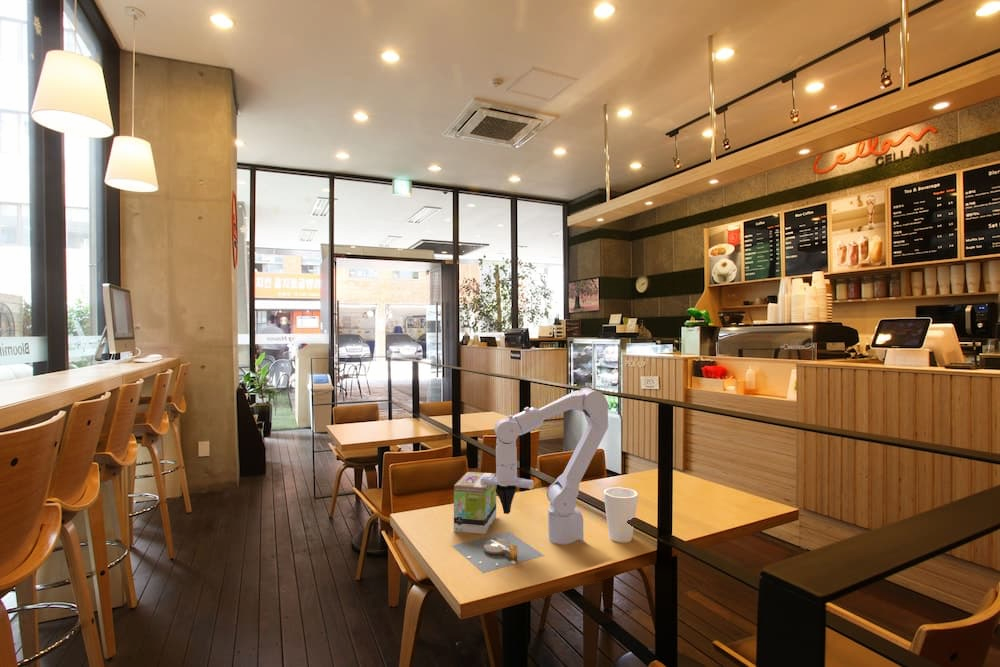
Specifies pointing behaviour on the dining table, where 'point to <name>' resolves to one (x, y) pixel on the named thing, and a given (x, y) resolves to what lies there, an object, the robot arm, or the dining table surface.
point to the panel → (492, 562)
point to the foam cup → (620, 512)
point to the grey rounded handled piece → (500, 548)
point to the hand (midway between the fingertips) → (507, 512)
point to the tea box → (474, 503)
